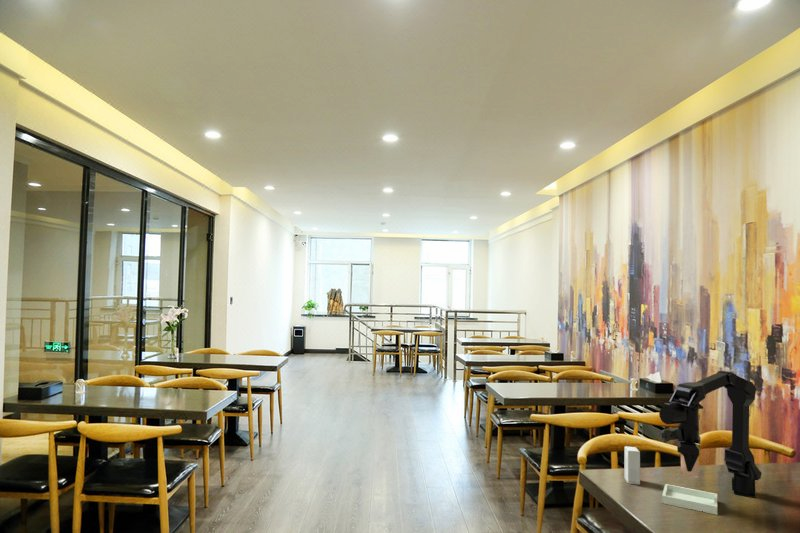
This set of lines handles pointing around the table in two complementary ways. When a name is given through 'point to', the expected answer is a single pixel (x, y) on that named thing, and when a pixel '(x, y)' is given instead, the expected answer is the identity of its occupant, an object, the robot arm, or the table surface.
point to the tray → (690, 498)
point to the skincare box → (632, 465)
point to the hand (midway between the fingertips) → (689, 469)
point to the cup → (686, 473)
